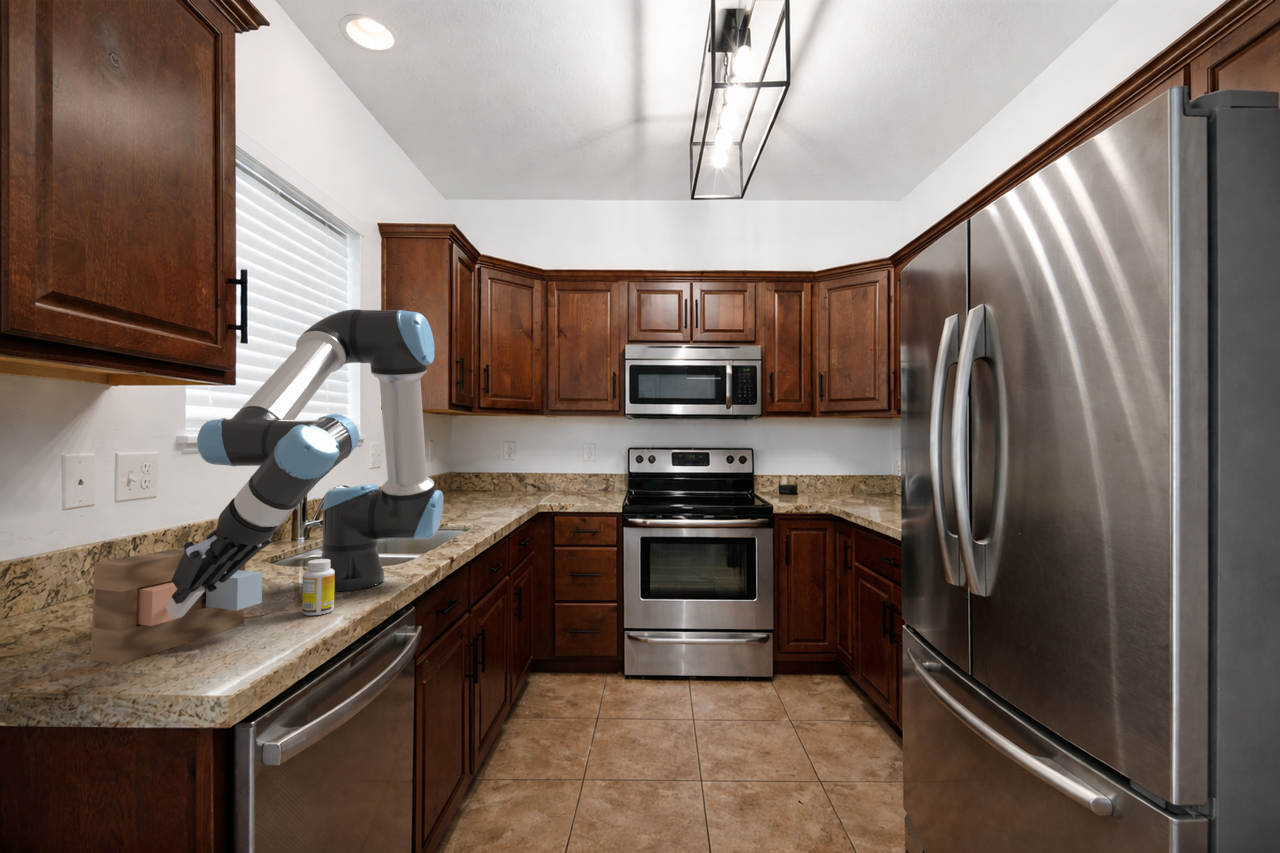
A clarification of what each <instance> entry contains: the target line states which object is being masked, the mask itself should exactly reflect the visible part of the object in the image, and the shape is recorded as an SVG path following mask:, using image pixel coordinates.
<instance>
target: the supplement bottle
mask: <svg viewBox="0 0 1280 853" xmlns="http://www.w3.org/2000/svg"><path fill="white" fill-rule="evenodd" d="M330 566H331V565H330V560H329V559H320V558H317V559H316V558H315V559H311V560H309V561H307V568H306V569H307V570H305V571H304V572H303V574H302V594H301V596H302V597H301V598H302V600H301V601H302V602H301V603H302V606H301V608H302V610H301V611H302V614H303V615H305V616H310V617H313V616H315V615H316V616H322V614H323V615H326V613H327V614H329V613H331V612H333V610H334V609H335V591H334V586H335V571H334V570H333V569H331V568H330ZM316 616H315V617H316Z"/></svg>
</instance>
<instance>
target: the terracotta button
mask: <svg viewBox="0 0 1280 853" xmlns="http://www.w3.org/2000/svg"><path fill="white" fill-rule="evenodd" d="M176 590H177V588H176V586H175V585H174V583H172V582H164V583H160V584H155V585H151V586H146V587H141V588H137V617H136V624H141V625H149V626H153V625H157V624H160V623H164V622H167V621H171V620H174V619H172V617H171V616H170V614H169V613H168V611H167V610H166V608H165V607H164V606H165V605H166V604H167V602H168V601H169V600H170V599H171V598H172V595H173V594H174V592H175V591H176ZM180 618H181V617H180ZM177 619H178V618H177Z"/></svg>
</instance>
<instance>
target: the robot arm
mask: <svg viewBox="0 0 1280 853" xmlns="http://www.w3.org/2000/svg"><path fill="white" fill-rule="evenodd" d="M435 350H436V348H435V340H434V335H433V332H432V329H431V326H430V323H429V322H428V319H427V318H426V317H425V316H424V315H423V314H422V313H419V312H417V311H409V310H402V309H398V310H391V309H390V310H389V309H387V310H383V309H380V310H379V309H376V310H375V309H357V308H353V309H346V310H342V311H338V312H335V313H333V314H331V315H328V316H326V317H323V318H322V319H320V320H319V321H316V322H315V323H313V324H312V325H311V326H309V327H308V328H307V329H306V330H305V331H304V332H303V333H302V334H301V335H299V337H298V339H297V340H296V343H295V350H294V351H293V352H292V353H291V355H289V356H288V357H287V358H286V360H284V362H282V363H281V365H280V366H278V368H277V369H276V370H275V371H274V372H273V373H272V375H270V377H269V378H268V379H267V380H266V381H265V382H264V384H262V386H260V388H259V389H258V390H257V391H256V392H255V393H254V394H253V395H252V396H251V397H250V398H249V400H247V401H246V402H245V404H243V406H242V407H241V408H240V409H239V410H238V411H237V412H236V413H235V415H234V416H233V417H231V418H226V417H222V418H219V419H210V420H208V421H206V422H205V423H204V424H202V426H201V427H200V429H199V431H198V435H197V441H196V444H197V450H198V452H199V453H200V457H201V458H202V459H203V461H205V462H206V463H208V464H210V465H215V466H216V465H218V466H231V467H254V466H255V467H258V466H259V467H258V468H257V469H256V471H255V472H254V473H253V474H252V475H251V476H250V478H249V479H248V481H247V482H246V483H244V485H243V487H242V488H241V489H240V490H239V491H238V492H237V494H236V495H235V496H234V497H233V498H232V499H231V500H230V502H229V503H228V504H227V505H226V506H225V508H224V509H223V510H222V511H221V512H220V513H219V514H220V515H219V516H218V519H217V520H218V521H217V527H216V528H215V529H213V531H212V532H210V533H209V534H207V536H206V537H205V540H202V541H201V542H198V543H194V542H193V541H188V542H186V543H185V544H184V545H183V546H182V548H184V551H185V552H184V554H183V556H182V559H181V561H180V563H179V565H178V567H177V569H176V571H175V573H174V575H173V577H172V582H173V583H174V585H175V586H176V588H177V590H176V591H175V592H174V594H173V595H172V598H171V599H170V600H169V601H168V602H167V604H166V605H165V606H164V607H165V608H166V610H167V611H168V613H169V614H170V616H171V617H172V619H177V618H180V617H183V616H184V615H185V614H186V612H187V611H188V610H189V609H190V608H191V607H192V605H193V604H194V603H195V602H196V601H197V599H198V598H199V597H201V596H202V595H203V593H204V592H205V591H206V590H207V589H208V591H209V592H212V591H214V590H216V589H217V588H216V586H215V584H216V583H217V582H218V581H219V582H220V583H223V582H225V581H226V580H228V579H229V578H230V577H231V576H232V575H233V574H234V573H235V572H237V571H238V570H239V569H240V568H241V567H242V566H243V565H244V564H245V565H246V564H247V563H248V562H249V561H250V560H252V558H253V557H255V556H256V555H257V554H258V553H259V552H261V551H262V550H263V549H264V548H266V547H268V546H269V545H270V544H271V543H273V541H272V539H271V537H272V536H273V535H274V533H276V532H277V530H279V528H280V527H281V525H282V524H284V523H285V522H286V521H287V519H288V517H290V515H291V514H292V513H293V512H294V511H295V509H296V508H297V507H298V506H299V504H300V503H301V502H302V500H303V499H304V498H305V497H306V496H307V495H308V494H309V493H310V491H311V490H313V489H314V487H315V486H316V485H317V484H318V483H319V482H320V481H321V480H322V479H323V478H324V477H326V475H327V474H329V473H330V472H331V471H332V470H333V469H334V468H336V466H338V465H339V464H341V462H342V461H344V460H345V459H347V458H348V457H349V456H350V454H352V452H353V451H354V450H355V448H356V447H357V446H358V444H359V439H360V434H359V430H358V427H357V425H356V424H355V423H354V422H353V420H351V419H350V418H348V417H346V415H342V414H339V413H338V414H337V413H331V414H327V415H324V416H321V417H319V418H318V419H316V420H307V419H306V420H304V419H303V420H302V419H300V420H298V419H297V417H298V416H299V415H300V413H301V412H302V410H304V408H305V407H306V406H307V404H308V403H309V402H310V400H311V399H312V398H313V397H314V395H315V394H316V393H317V391H318V390H319V388H320V387H321V386H322V385H323V384H324V382H325V381H326V380H327V378H328V377H329V376H330V375H331V373H334V372H337V371H339V370H340V369H341V368H343V366H344V365H347V364H355V363H356V364H357V363H358V364H369V365H370V373H371V374H372V375H373V376H374V377H376V379H378V381H379V390H380V402H381V412H382V413H381V415H382V426H383V438H384V448H385V459H386V460H385V461H386V472H387V474H386V475H387V480H386V481H385V483H382V486H381V489H380V487H379V485H378V484H376V483H375V484H374V483H373V484H364V485H356V486H348V487H343V488H335V489H332V490H331V489H330V490H329V491H327V492H326V493H325V495H324V498H323V506H322V549H321V550H322V553H321V556H320V558H319V559H329V560H330V565H331V566H330V568H331V569H333V570H334V571H335V586H334V592H347V591H349V592H350V591H357V590H356V589H358V590H362V589H361V588H364V589H366V588H365V587H368V588H370V587H369V586H372V585H375V584H378V583H380V582H382V581H383V580H384V581H385V570H384V568H383V567H382V566H383V565H382V562H381V557H380V555H379V551H378V540H413V541H416V540H421V539H422V540H423V539H424V540H425V539H430V538H433V537H434V536H435V535H436V533H437V532H438V529H439V527H440V524H441V521H442V516H443V511H444V498H445V497H444V495H443V494H444V493H443V492H442V490H439V489H435V482H434V480H433V479H432V478H430V477H429V476H428V472H427V471H428V470H427V460H426V444H425V443H426V442H425V429H424V428H425V427H424V413H423V399H422V384H421V383H422V382H421V381H422V380H421V378H423V376H424V375H425V374H426V373H427V372H428V366H429V365H431V364H432V363H433V362H434V360H435ZM225 572H226V573H225ZM384 581H383V582H384ZM383 582H382V583H383ZM378 585H379V584H378ZM372 587H373V586H372Z"/></svg>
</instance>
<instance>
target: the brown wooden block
mask: <svg viewBox="0 0 1280 853" xmlns="http://www.w3.org/2000/svg"><path fill="white" fill-rule="evenodd" d="M184 552H185V551H184V547H180V548H173V549H167V550H161V551H156V552H150V553H143V554H139V555H132V556H127V557H120V558H115V559H108V560H104V561H103V560H102V561H98V562H97V561H96V562H94V565H93V566H94V567H93V591H92V592H93V594H92V622H91V647H90V648H91V652H90V661H91V662H92V661H93V662H96V663H104V664H111V665H116V666H121V665H123V664H126V663H129V662H132V661H135V660H138V659H142V658H144V657H149V656H152V655H154V654H156V653H160V652H163V651H166V650H168V649H172V648H175V647H179V646H181V645H184V644H187V643H191V642H194V641H196V640H200V639H203V638H206V637H209V636H212V635H214V634H218V633H222V632H224V631H227V630H230V629H234V628H236V627H240V626H242V625H244V623H245V622H244V621H245V620H244V618H245V616H244V615H245V608H243V609H240V610H230V609H222V608H213V607H206V591H205V592H204V593H203V595H202V596H201V597H199V598H198V599H197V601H196V602H195V603H194V604H193V605H192V607H191V608H190V609H189V610H188V611H187V612H186V614H185V615H184V616H183V617H181V618H178V619H174V620H171V621H167V622H164V623H160V624H157V625H153V626H149V625H141V624H136V617H137V588H141V587H146V586H151V585H155V584H160V583H164V582H172V577H173V575H174V573H175V571H176V569H177V567H178V565H179V563H180V561H181V559H182V556H183V554H184ZM239 570H243V571H246V564H244V565H243V566H242V567H241V568H240V569H239ZM172 583H173V582H172ZM159 651H160V652H159ZM153 653H154V654H153Z"/></svg>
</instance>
